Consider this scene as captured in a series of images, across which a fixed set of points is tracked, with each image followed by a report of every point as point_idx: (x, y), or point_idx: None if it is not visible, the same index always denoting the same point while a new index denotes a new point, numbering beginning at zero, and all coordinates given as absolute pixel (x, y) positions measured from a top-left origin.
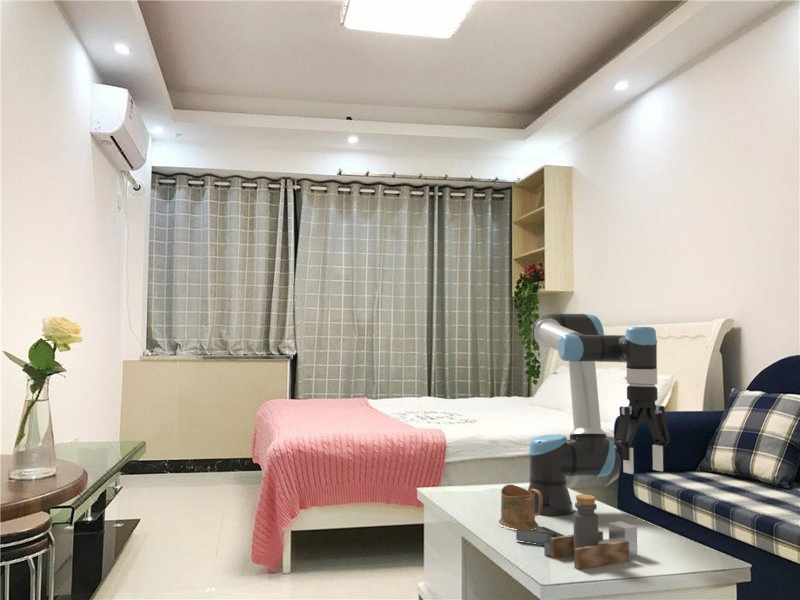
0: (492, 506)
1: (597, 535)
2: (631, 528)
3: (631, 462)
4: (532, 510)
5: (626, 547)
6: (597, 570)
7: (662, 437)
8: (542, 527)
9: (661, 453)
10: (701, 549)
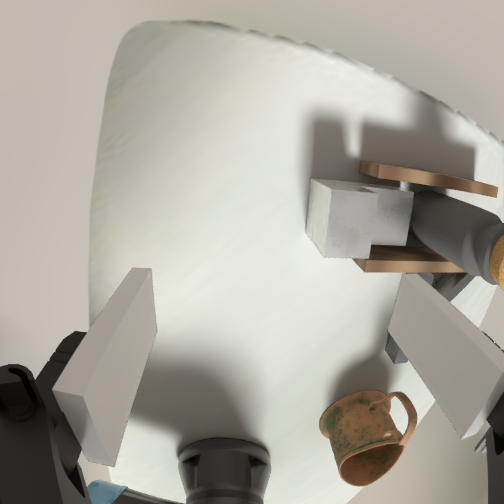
0: (300, 484)
1: (454, 202)
2: (353, 190)
3: (453, 307)
4: (361, 423)
5: (381, 164)
6: (453, 157)
7: (6, 470)
8: (400, 359)
9: (100, 340)
10: (112, 145)
